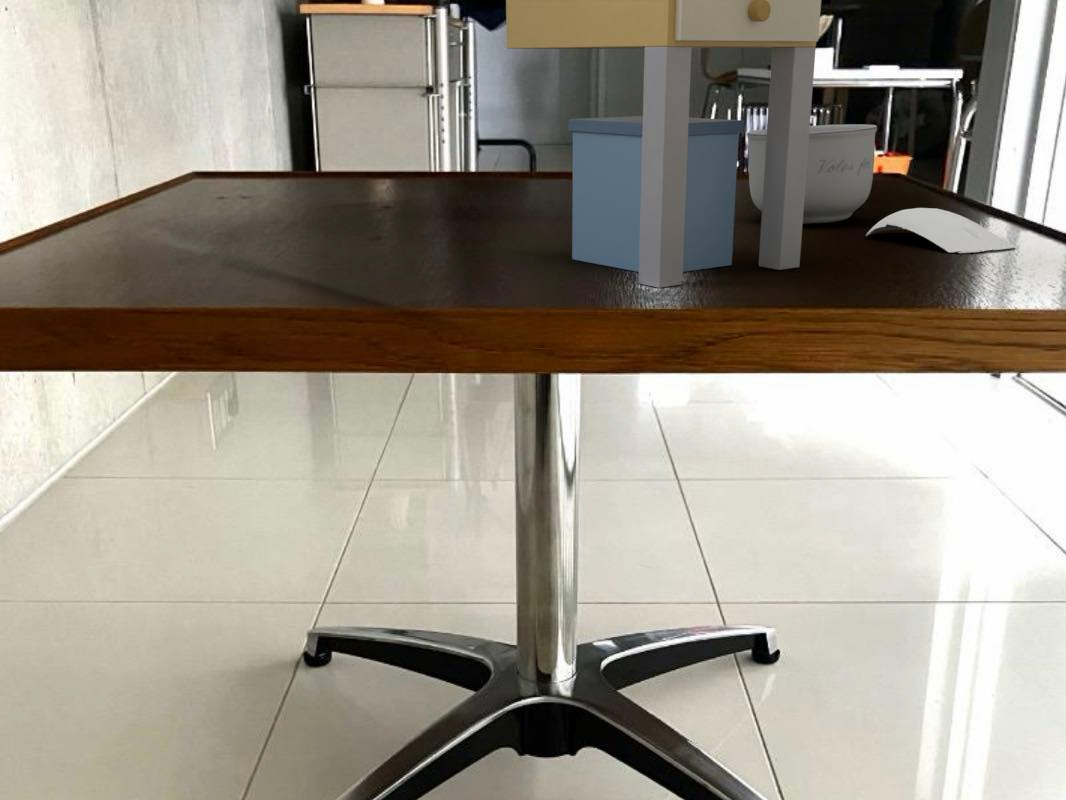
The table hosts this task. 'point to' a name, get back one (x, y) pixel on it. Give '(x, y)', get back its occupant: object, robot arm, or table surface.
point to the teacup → (825, 170)
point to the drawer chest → (667, 36)
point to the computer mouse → (943, 230)
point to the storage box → (615, 191)
